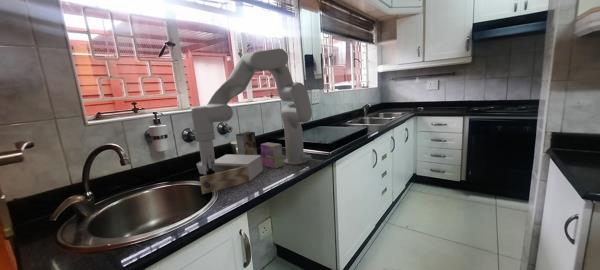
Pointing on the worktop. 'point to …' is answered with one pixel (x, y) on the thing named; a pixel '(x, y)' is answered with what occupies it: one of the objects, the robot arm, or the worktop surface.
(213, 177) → the door
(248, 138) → the coffee box
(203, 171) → the ramekin
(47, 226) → the worktop surface
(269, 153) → the box
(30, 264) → the worktop surface
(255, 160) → the box
